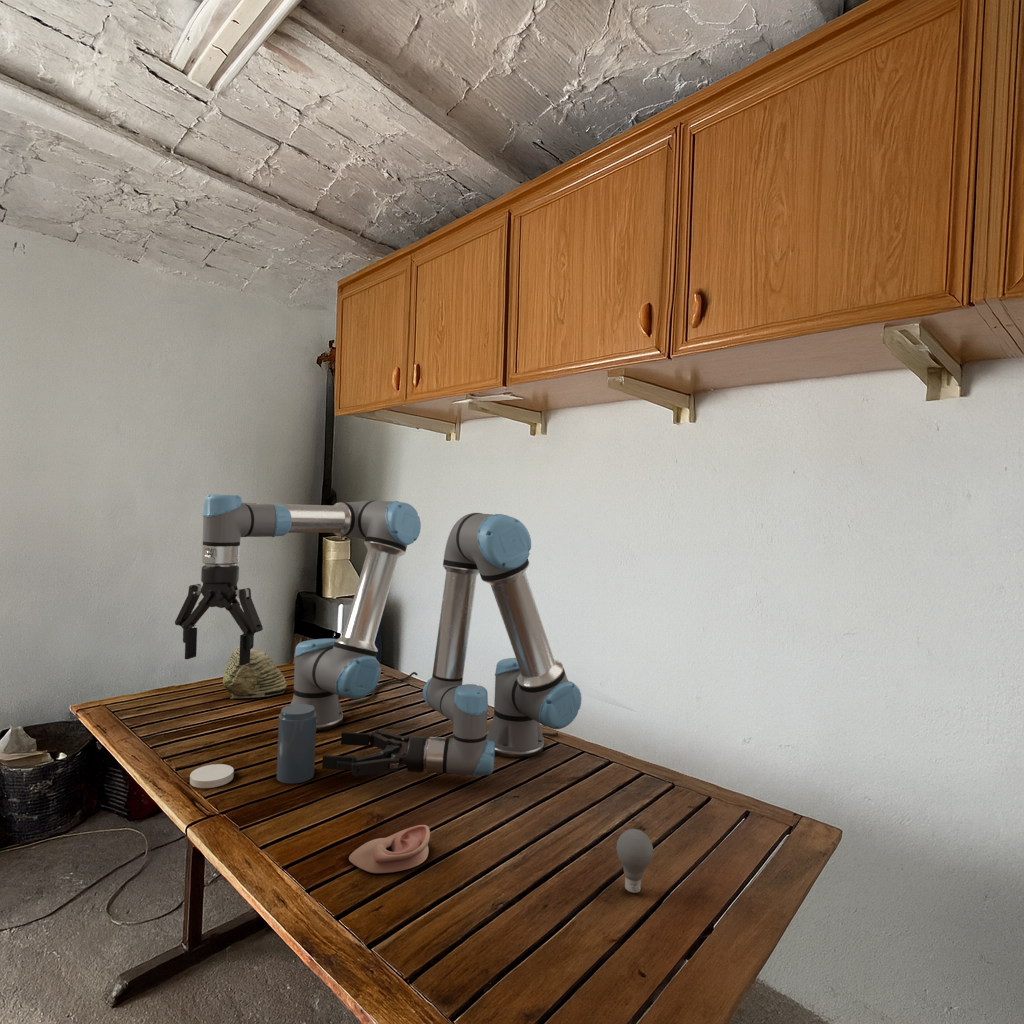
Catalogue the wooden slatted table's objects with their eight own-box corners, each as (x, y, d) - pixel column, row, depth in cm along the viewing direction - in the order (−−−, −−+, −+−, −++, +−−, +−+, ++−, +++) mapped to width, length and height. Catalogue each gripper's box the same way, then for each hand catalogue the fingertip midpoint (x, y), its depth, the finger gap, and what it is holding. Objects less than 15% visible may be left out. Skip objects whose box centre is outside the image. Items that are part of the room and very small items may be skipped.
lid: (223, 789, 135) (223, 781, 135) (182, 787, 135) (182, 780, 135) (240, 771, 144) (240, 764, 144) (201, 770, 144) (201, 763, 144)
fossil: (218, 695, 195) (220, 647, 195) (278, 685, 208) (279, 640, 207) (228, 703, 189) (230, 653, 188) (289, 692, 201) (290, 645, 201)
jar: (275, 770, 145) (278, 704, 145) (312, 766, 149) (315, 701, 148) (277, 785, 138) (279, 716, 138) (316, 780, 141) (318, 713, 141)
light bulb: (610, 879, 108) (613, 822, 108) (644, 879, 109) (647, 822, 109) (619, 902, 102) (622, 840, 102) (655, 901, 103) (658, 840, 103)
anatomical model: (341, 845, 108) (369, 813, 120) (340, 868, 108) (368, 833, 120) (414, 857, 106) (436, 823, 117) (413, 880, 106) (435, 844, 117)
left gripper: (159, 562, 138) (155, 659, 138) (260, 570, 133) (257, 670, 133) (183, 559, 145) (180, 651, 146) (281, 566, 140) (277, 662, 140)
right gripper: (415, 796, 130) (313, 791, 131) (433, 749, 155) (347, 744, 156) (416, 760, 130) (314, 755, 131) (435, 719, 155) (349, 714, 156)
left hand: (217, 661), depth 139 cm, fingers open, 13 cm apart
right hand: (332, 749), depth 143 cm, fingers open, 13 cm apart
